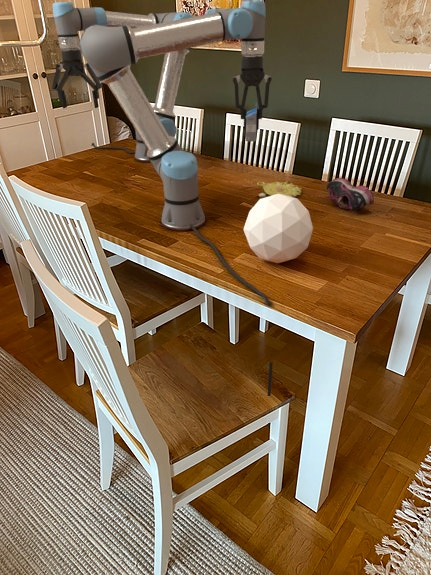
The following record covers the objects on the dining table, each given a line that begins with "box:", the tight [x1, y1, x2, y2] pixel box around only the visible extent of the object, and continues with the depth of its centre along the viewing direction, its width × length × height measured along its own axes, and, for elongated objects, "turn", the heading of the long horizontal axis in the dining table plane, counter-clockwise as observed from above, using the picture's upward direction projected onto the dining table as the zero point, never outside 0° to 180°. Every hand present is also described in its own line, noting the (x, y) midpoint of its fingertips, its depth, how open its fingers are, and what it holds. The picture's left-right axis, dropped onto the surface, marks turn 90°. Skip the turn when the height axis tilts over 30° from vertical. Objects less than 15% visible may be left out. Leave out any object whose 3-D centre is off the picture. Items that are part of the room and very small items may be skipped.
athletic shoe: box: [325, 177, 375, 211], centre depth 162 cm, size 11×22×12 cm
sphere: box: [242, 194, 314, 264], centre depth 127 cm, size 19×20×20 cm
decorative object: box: [256, 180, 302, 198], centre depth 178 cm, size 21×2×20 cm
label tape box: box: [245, 102, 258, 143], centre depth 158 cm, size 9×4×12 cm, turn 176°
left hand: (80, 107), depth 183 cm, fingers open, 13 cm apart
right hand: (251, 128), depth 159 cm, fingers closed on label tape box, 4 cm apart
